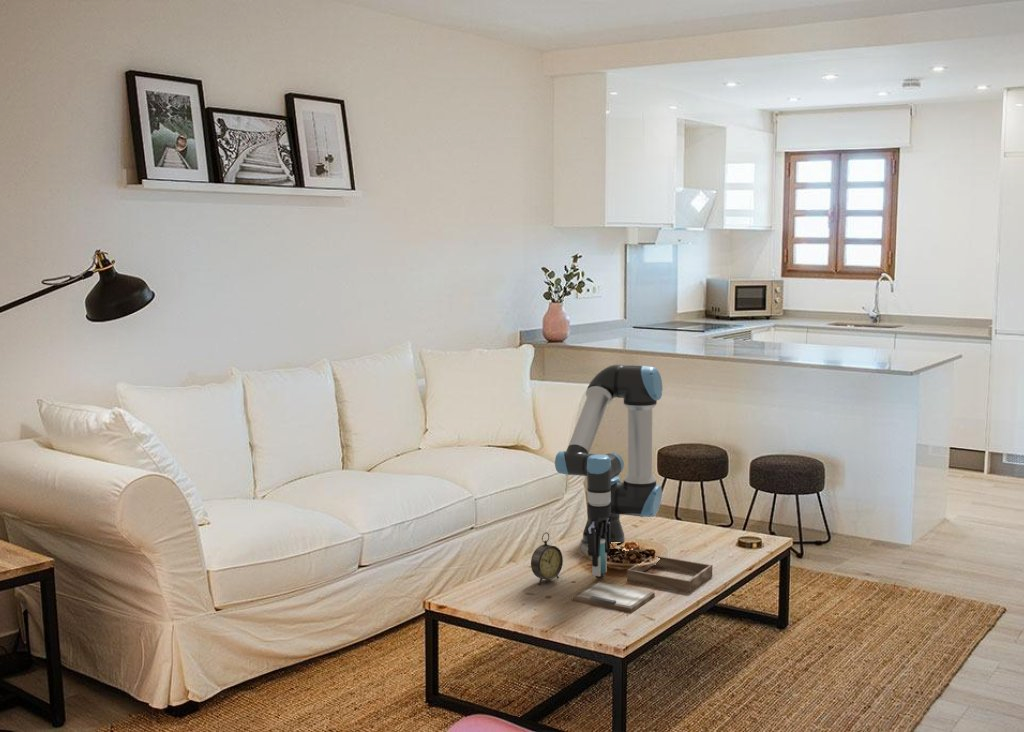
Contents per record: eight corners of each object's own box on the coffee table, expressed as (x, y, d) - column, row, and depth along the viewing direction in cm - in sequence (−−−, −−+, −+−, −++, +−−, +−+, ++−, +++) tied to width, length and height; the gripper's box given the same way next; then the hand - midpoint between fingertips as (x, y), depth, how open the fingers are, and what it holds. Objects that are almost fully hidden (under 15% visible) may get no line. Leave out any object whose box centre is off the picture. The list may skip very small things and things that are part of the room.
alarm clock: (539, 587, 330) (539, 537, 328) (528, 583, 334) (527, 534, 332) (564, 579, 337) (563, 530, 335) (552, 575, 341) (551, 527, 339)
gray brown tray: (651, 564, 350) (651, 554, 350) (712, 575, 339) (712, 565, 338) (627, 580, 335) (627, 570, 335) (689, 592, 323) (689, 581, 323)
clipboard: (597, 585, 331) (597, 579, 331) (654, 596, 320) (654, 590, 320) (572, 600, 318) (572, 594, 318) (631, 612, 307) (631, 606, 307)
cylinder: (597, 573, 339) (596, 536, 337) (607, 575, 337) (607, 538, 335) (591, 577, 336) (591, 540, 334) (602, 579, 334) (601, 541, 332)
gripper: (600, 495, 342) (601, 564, 345) (576, 507, 328) (576, 579, 332) (621, 498, 338) (621, 568, 341) (597, 511, 324) (597, 583, 328)
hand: (599, 573), depth 336 cm, fingers closed on cylinder, 3 cm apart
